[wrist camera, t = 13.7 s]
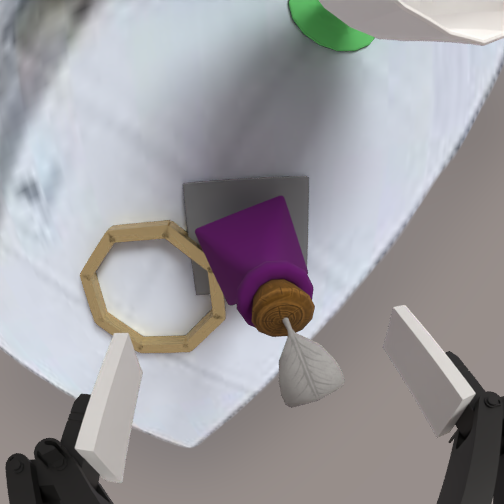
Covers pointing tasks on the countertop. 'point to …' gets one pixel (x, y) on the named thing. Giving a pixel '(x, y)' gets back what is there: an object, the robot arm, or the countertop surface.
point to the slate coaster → (243, 207)
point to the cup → (398, 21)
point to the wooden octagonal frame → (114, 325)
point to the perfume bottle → (272, 292)
